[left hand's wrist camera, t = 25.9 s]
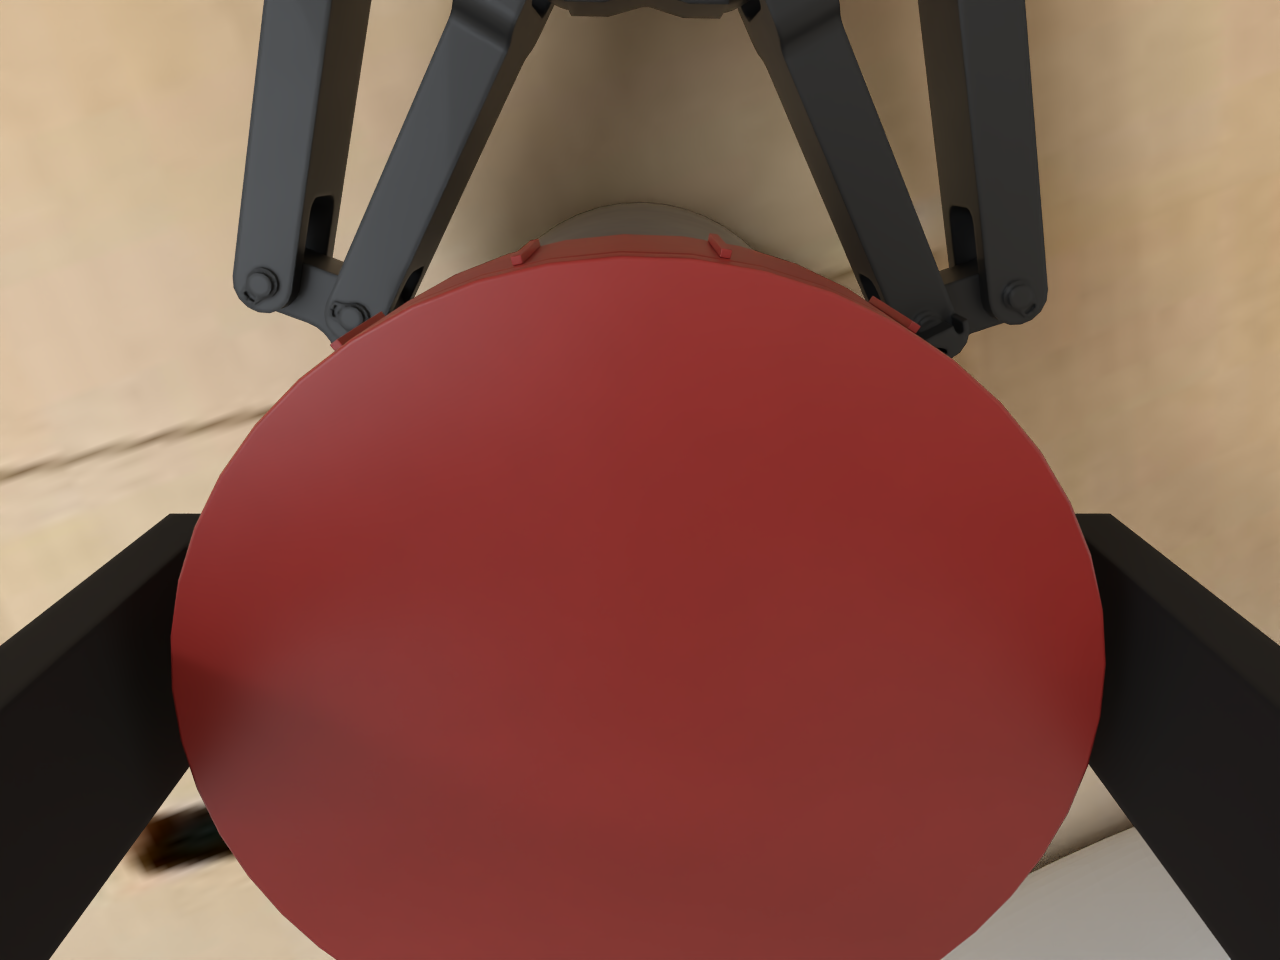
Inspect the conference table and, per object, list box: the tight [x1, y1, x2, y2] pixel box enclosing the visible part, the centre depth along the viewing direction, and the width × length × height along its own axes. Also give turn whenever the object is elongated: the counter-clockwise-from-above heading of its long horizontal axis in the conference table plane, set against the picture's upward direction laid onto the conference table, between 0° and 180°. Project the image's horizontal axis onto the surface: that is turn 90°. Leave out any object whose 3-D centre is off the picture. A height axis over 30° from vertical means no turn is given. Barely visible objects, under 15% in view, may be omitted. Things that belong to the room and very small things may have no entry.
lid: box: [171, 233, 1106, 960], centre depth 11 cm, size 10×10×2 cm
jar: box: [538, 202, 753, 250], centre depth 19 cm, size 9×9×16 cm
